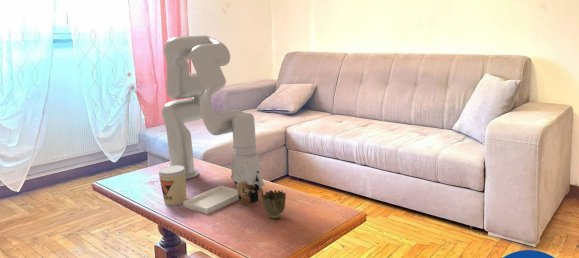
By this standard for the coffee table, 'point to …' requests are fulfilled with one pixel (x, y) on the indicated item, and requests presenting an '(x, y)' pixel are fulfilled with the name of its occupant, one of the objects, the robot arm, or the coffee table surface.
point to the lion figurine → (246, 192)
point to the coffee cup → (173, 184)
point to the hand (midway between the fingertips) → (248, 199)
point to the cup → (274, 203)
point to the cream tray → (212, 199)
